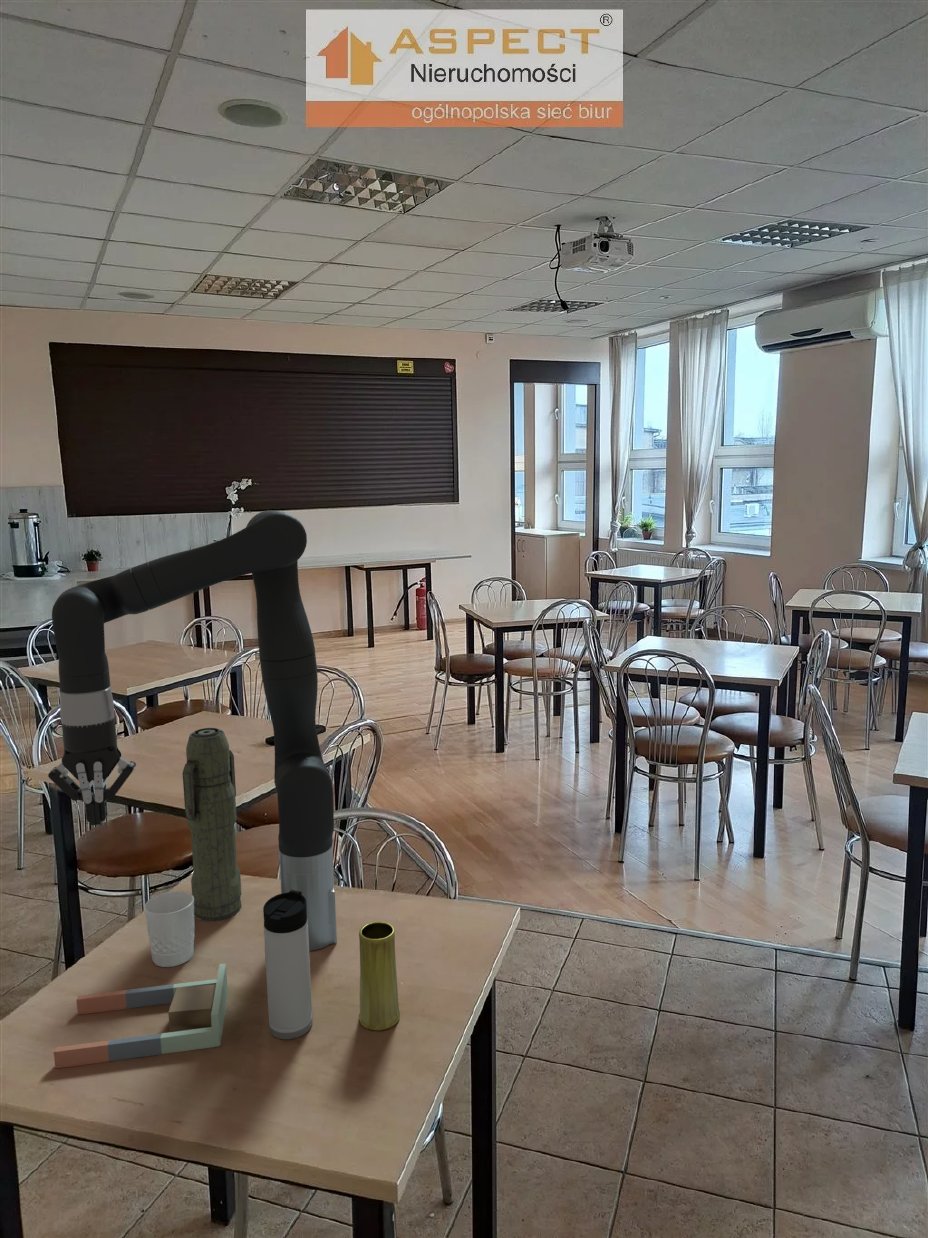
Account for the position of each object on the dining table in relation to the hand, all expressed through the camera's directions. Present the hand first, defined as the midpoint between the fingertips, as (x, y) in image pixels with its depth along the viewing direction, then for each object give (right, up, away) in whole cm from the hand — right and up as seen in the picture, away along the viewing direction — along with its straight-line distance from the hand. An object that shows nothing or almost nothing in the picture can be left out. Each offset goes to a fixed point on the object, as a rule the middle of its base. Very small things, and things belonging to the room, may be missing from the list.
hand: (97, 823), depth 130 cm
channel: (+11, -28, -8) cm, 31 cm away
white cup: (+8, -26, +11) cm, 29 cm away
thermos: (+11, -23, +27) cm, 37 cm away
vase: (+45, -28, -6) cm, 54 cm away
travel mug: (+32, -28, -8) cm, 44 cm away
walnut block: (+17, -28, -6) cm, 34 cm away
